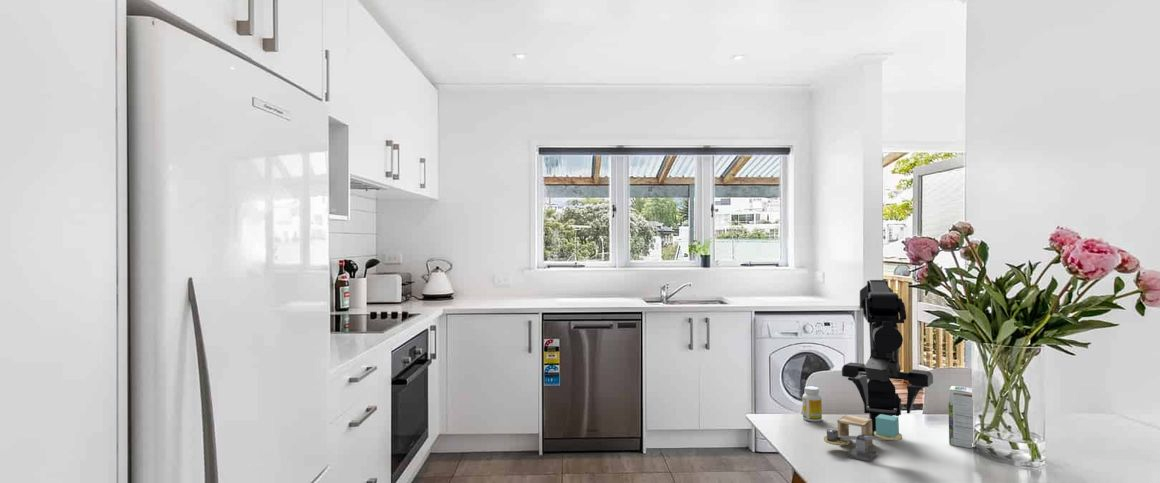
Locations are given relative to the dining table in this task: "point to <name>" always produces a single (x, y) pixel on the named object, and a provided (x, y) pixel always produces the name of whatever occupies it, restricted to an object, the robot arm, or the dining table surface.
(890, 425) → the block
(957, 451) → the dining table surface
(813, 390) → the supplement bottle
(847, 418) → the cover
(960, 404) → the syrup box
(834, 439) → the balance
